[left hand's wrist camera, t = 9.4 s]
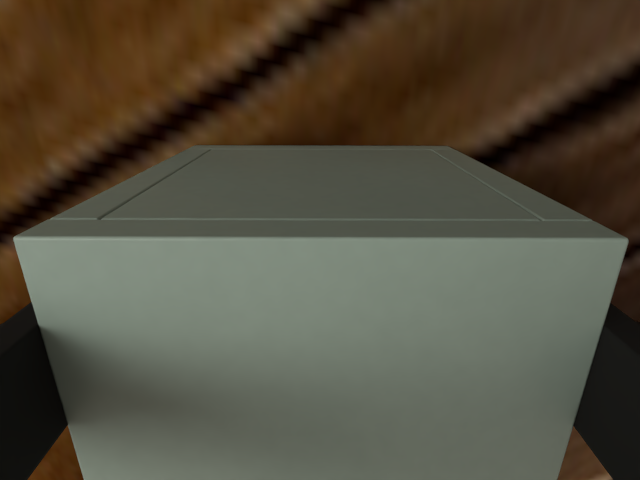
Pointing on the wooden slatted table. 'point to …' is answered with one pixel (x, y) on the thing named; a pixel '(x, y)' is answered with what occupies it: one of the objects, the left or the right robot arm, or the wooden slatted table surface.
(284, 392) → the cabinet
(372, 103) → the wooden slatted table surface
